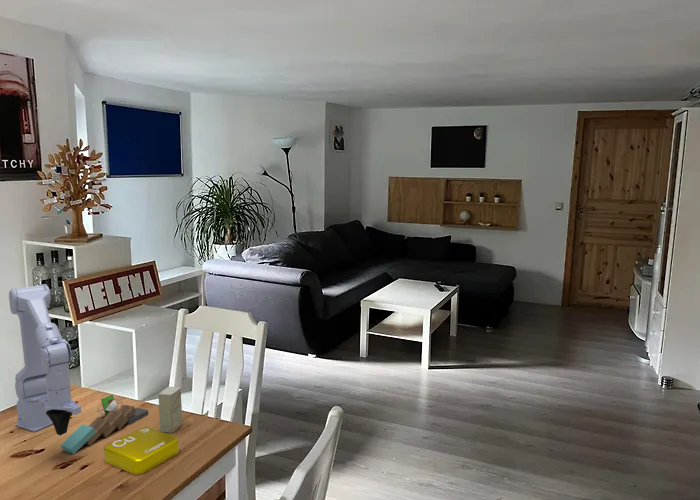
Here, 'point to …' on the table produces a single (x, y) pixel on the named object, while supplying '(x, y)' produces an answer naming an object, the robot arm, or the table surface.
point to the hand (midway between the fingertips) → (61, 433)
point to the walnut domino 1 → (98, 429)
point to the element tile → (141, 450)
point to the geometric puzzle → (109, 404)
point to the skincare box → (170, 409)
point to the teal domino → (78, 439)
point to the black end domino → (137, 415)
